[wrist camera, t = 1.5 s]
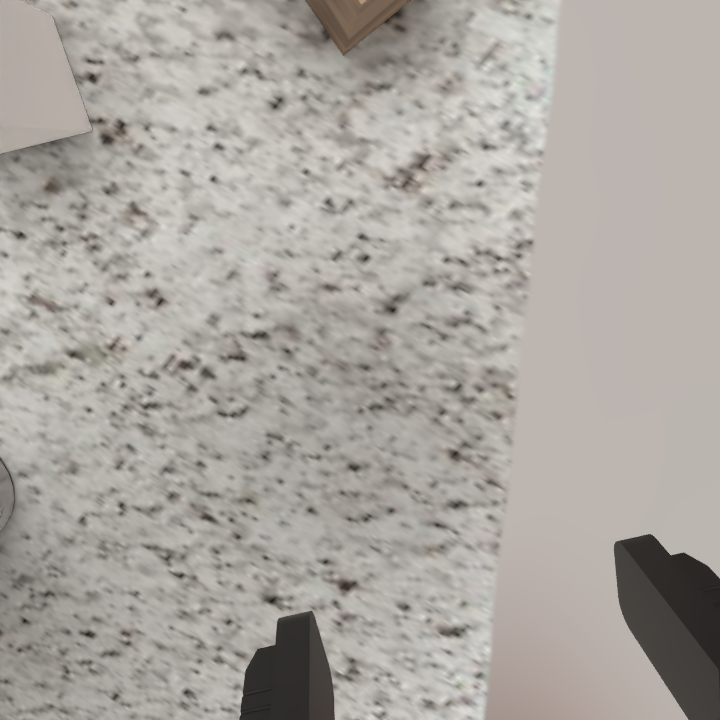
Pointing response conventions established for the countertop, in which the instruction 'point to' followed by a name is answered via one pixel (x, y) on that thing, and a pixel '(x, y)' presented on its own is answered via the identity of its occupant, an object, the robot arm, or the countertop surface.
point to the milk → (35, 81)
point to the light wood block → (353, 18)
